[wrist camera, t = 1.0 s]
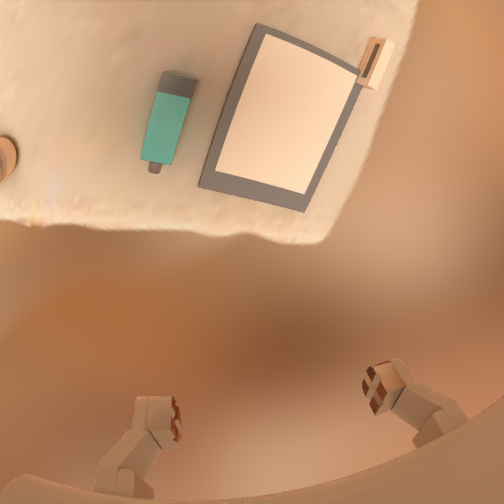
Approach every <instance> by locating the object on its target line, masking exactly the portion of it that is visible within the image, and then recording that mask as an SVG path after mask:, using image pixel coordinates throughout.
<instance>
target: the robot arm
mask: <svg viewBox="0 0 504 504" xmlns="http://www.w3.org/2000/svg"><path fill="white" fill-rule="evenodd" d="M366 372H367V375H366V376H365V377H364V379H363V382H362V388H363V392H364V394H365V396H366V397H367V398H369V399H370V406H371V408H372V411H373V412H374V414H375V415H378V414H381V413H384V412H387V411H390V410H391V412H393V413H394V414H396V415H397V416H399V417H400V418H401V419H403V420H404V421H405V422H407V423H408V424H410V425H411V426H412V427H414V428H415V429H417V430H418V431H419V432H418V433H417V434H416V436H415V437H414V438H413V443H414V445H415V447H416V449H415V450H413V451H411V452H409V453H407V454H404V455H402V456H400V457H398V458H395V459H393V460H390V461H388V462H386V463H383V464H380V465H378V466H376V467H373V468H370V469H368V470H364V471H362V472H359V473H356V474H353V475H349V476H346V477H344V478H340V479H337V480H333V481H330V482H326V483H322V484H318V485H314V486H310V487H305V488H301V489H297V490H292V491H287V492H281V493H275V494H269V495H263V496H255V497H247V498H237V499H226V500H225V499H224V500H206V501H205V500H203V501H174V500H154V489H153V488H152V487H151V486H149V485H148V484H147V483H146V482H145V481H144V480H143V478H144V477H145V475H146V474H147V472H148V471H149V469H150V468H151V466H152V465H153V463H154V462H155V460H156V459H157V457H158V455H159V454H160V453H161V451H162V449H181V434H180V432H179V429H180V428H181V415H180V410H179V408H178V406H177V405H176V401H175V398H174V396H159V397H158V396H156V397H155V396H138V397H137V398H136V401H135V408H134V416H133V425H132V430H128V431H127V432H126V433H125V435H123V437H122V438H121V439H120V440H119V441H118V442H117V443H116V445H115V446H114V447H113V448H112V449H111V450H110V451H109V452H108V453H107V455H106V456H105V457H104V458H103V459H102V460H101V461H100V462H99V463H98V465H97V472H96V482H95V490H94V492H93V491H88V490H84V489H79V488H75V487H71V486H67V485H63V484H59V483H56V482H52V481H49V480H46V479H43V478H40V477H37V476H34V475H31V474H22V475H20V476H18V477H17V478H16V479H15V480H14V481H12V482H11V483H10V484H9V485H8V486H6V487H5V488H4V489H3V491H2V493H1V496H0V504H504V396H502V397H501V398H500V399H498V400H497V401H496V402H494V403H493V404H491V405H490V406H489V407H487V408H486V409H484V410H483V411H481V412H480V413H479V414H477V415H475V416H474V417H472V418H471V419H469V420H468V418H467V417H466V415H465V414H464V412H463V411H462V409H461V408H460V406H459V404H458V403H457V401H455V400H453V399H451V398H449V397H447V396H445V395H443V394H441V393H439V392H437V391H435V390H434V389H432V388H430V387H428V386H426V385H424V384H422V383H420V382H417V383H416V381H415V380H414V378H413V377H412V375H411V374H410V372H409V371H408V369H407V368H406V366H405V365H404V363H403V362H402V361H401V359H400V358H396V359H392V360H389V361H385V362H382V363H378V364H375V365H372V366H369V367H368V368H367V371H366Z"/></svg>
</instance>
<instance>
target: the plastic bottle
mask: <svg viewBox="0 0 504 504" xmlns="http://www.w3.org/2000/svg"><path fill="white" fill-rule="evenodd" d="M15 165H16V149H15V146H14V145H13V143H12V142H11V141H10V140H9V139H7V138H5V137H0V183H1V182H2V181H4V180H5V179H7V178H8V176H9V175H10V174H11V173H12V171H13V169H14V167H15Z"/></svg>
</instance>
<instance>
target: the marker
mask: <svg viewBox="0 0 504 504" xmlns="http://www.w3.org/2000/svg"><path fill="white" fill-rule="evenodd" d="M196 83H197V78H193V77H189V76H185V75H180V74H176V73H171V72H163V75H162V78H161V81H160V84H159V87H158V91H157V95H156V98H155V102H154V105H153V109H152V112H151V116H150V120H149V124H148V128H147V132H146V136H145V140H144V144H143V149H142V153H141V158H140V159H142V160H147V161H150V164H149V169H148V171H149V172H151V173H155V174H158V173H160V169H161V165H162V164H167V165H171V164H172V161H173V157H174V153H175V150H176V146H177V142H178V139H179V135H180V132H181V129H182V125H183V122H184V119H185V115H186V112H187V109H188V106H189V103H190V100H191V97H192V94H193V91H194V88H195V86H196Z"/></svg>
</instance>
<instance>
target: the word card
mask: <svg viewBox="0 0 504 504" xmlns="http://www.w3.org/2000/svg"><path fill="white" fill-rule="evenodd" d="M394 47H395V44H394V43H393V42H391V41H390V40H389V39H385V38H371V40H370V43H369V45H368V47H367V50H366V52H365V54H364V57H363V59H362V62H361V64H360V66H359V69H358V70H360V73H359V76H358V78H357V80H356V83H358V84H360V85H361V86H362V87H366V88H369V89H373V90H377V88H378V85H379V83H380V81H381V78H382V76H383V74H384V71H385V69H386V67H387V64H388V62H389V59H390V57H391V55H392V52H393V50H394Z"/></svg>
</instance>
